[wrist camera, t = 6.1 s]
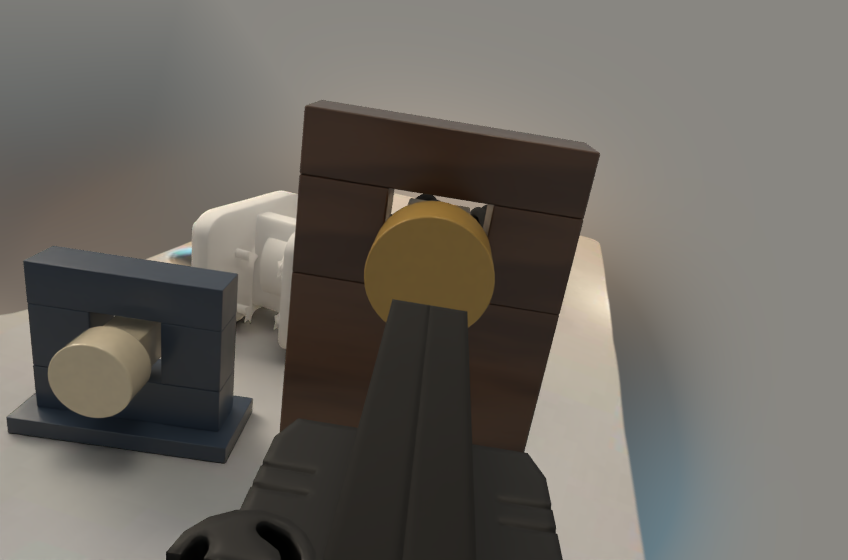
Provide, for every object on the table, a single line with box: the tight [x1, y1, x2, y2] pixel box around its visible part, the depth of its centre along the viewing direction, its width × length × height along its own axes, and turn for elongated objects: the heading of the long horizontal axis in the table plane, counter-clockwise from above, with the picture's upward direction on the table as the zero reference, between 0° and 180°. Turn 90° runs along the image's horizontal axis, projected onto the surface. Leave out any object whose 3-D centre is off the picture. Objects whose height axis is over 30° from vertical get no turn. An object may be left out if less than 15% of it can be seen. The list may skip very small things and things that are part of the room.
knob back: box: [48, 316, 161, 418], centre depth 37 cm, size 6×5×5 cm
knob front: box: [364, 198, 495, 327], centre depth 25 cm, size 6×5×5 cm
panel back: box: [7, 246, 253, 463], centre depth 39 cm, size 6×14×12 cm, turn 88°
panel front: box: [280, 100, 600, 452], centre depth 30 cm, size 6×14×24 cm, turn 87°
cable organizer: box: [192, 191, 298, 349], centre depth 56 cm, size 15×11×12 cm
